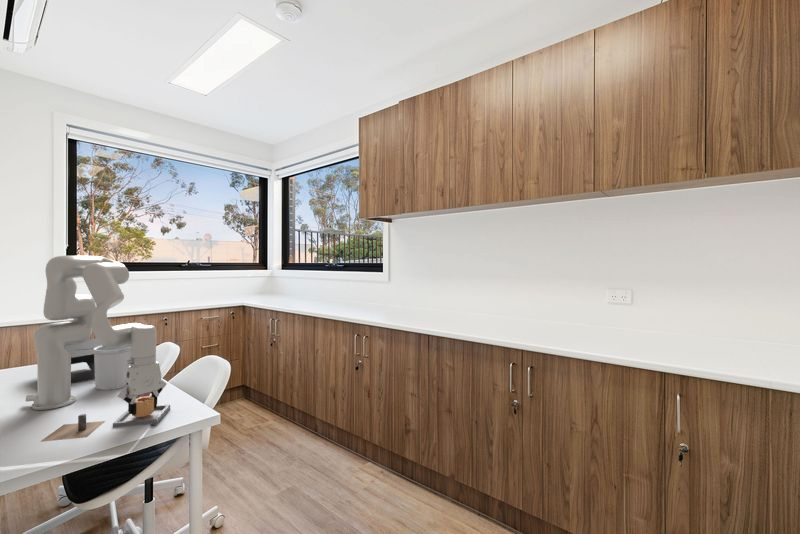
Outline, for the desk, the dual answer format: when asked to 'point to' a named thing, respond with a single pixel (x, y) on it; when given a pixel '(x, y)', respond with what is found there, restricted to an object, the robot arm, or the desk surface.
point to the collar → (144, 406)
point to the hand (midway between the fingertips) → (143, 410)
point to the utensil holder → (111, 366)
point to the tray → (140, 422)
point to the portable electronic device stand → (83, 359)
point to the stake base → (74, 430)
